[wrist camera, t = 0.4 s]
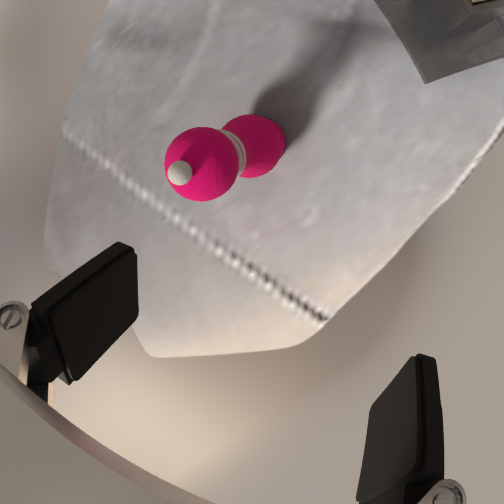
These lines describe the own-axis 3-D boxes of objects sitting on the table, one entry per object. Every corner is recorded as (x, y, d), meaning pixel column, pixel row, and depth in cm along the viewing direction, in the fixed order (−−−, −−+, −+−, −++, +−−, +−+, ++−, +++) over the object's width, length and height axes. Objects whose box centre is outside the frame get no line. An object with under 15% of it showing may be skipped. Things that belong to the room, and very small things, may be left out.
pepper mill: (231, 116, 37) (125, 133, 20) (286, 111, 35) (213, 115, 18) (237, 171, 40) (143, 225, 23) (292, 168, 38) (228, 225, 21)
